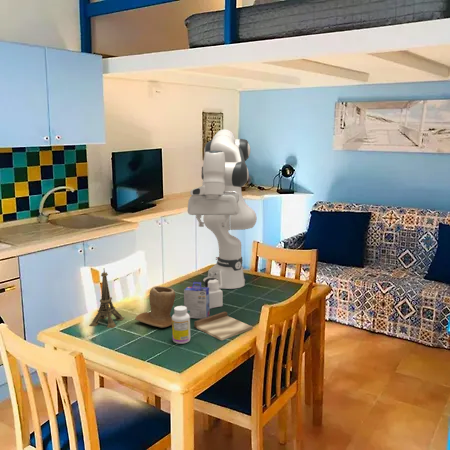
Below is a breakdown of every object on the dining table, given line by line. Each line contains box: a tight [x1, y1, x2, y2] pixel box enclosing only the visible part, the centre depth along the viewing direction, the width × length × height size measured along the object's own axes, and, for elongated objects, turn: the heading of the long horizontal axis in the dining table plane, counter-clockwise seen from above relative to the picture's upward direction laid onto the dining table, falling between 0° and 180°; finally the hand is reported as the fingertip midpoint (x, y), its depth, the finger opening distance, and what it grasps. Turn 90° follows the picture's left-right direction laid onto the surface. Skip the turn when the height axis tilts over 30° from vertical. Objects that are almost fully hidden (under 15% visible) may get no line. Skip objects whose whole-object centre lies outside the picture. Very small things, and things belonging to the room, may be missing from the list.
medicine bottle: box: [204, 278, 224, 309], centre depth 221 cm, size 7×7×12 cm
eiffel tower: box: [88, 269, 125, 329], centre depth 202 cm, size 11×11×25 cm
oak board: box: [193, 311, 253, 341], centre depth 197 cm, size 16×16×2 cm
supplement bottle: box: [171, 305, 191, 345], centre depth 185 cm, size 7×7×13 cm
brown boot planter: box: [134, 285, 176, 329], centre depth 202 cm, size 15×12×15 cm
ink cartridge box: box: [183, 281, 211, 320], centre depth 208 cm, size 10×6×14 cm, turn 78°
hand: (212, 226), depth 194 cm, fingers open, 8 cm apart
